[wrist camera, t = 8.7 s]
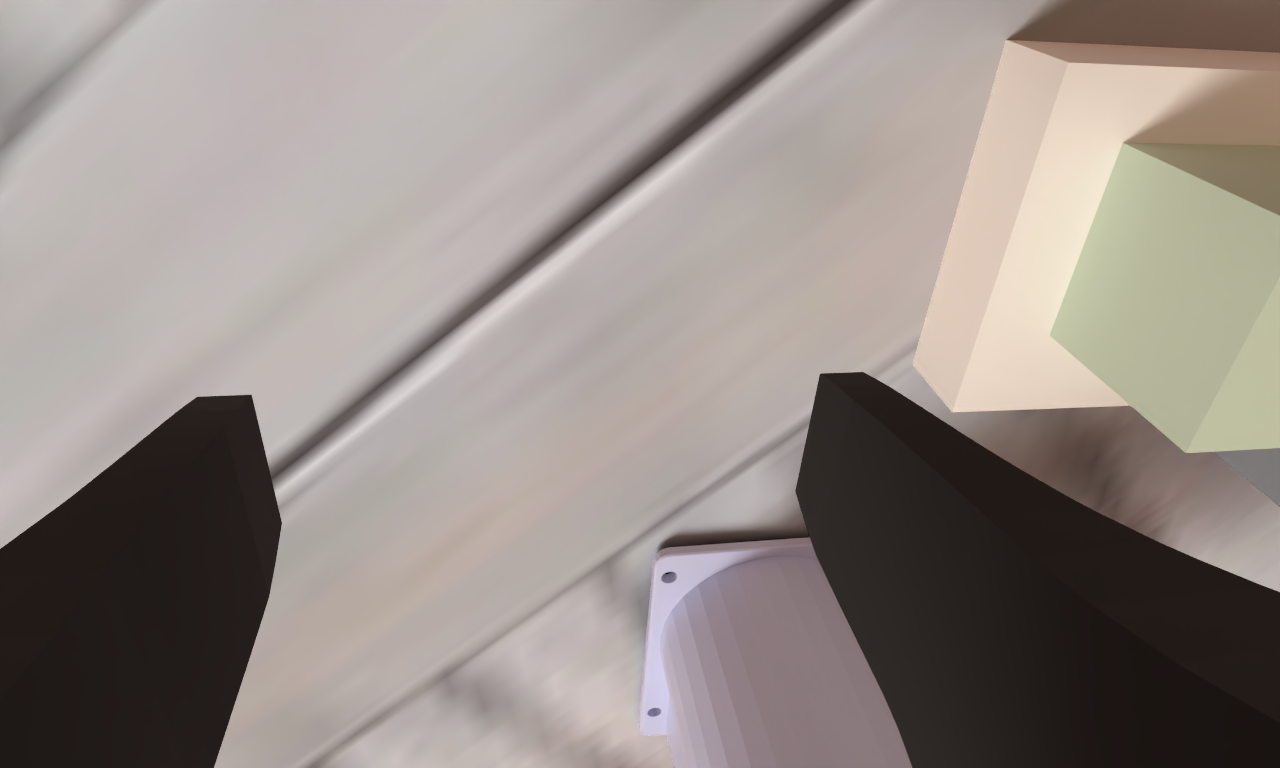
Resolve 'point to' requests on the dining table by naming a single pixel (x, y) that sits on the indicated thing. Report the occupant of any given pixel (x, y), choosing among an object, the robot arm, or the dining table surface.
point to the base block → (1064, 202)
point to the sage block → (1185, 292)
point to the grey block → (1257, 468)
